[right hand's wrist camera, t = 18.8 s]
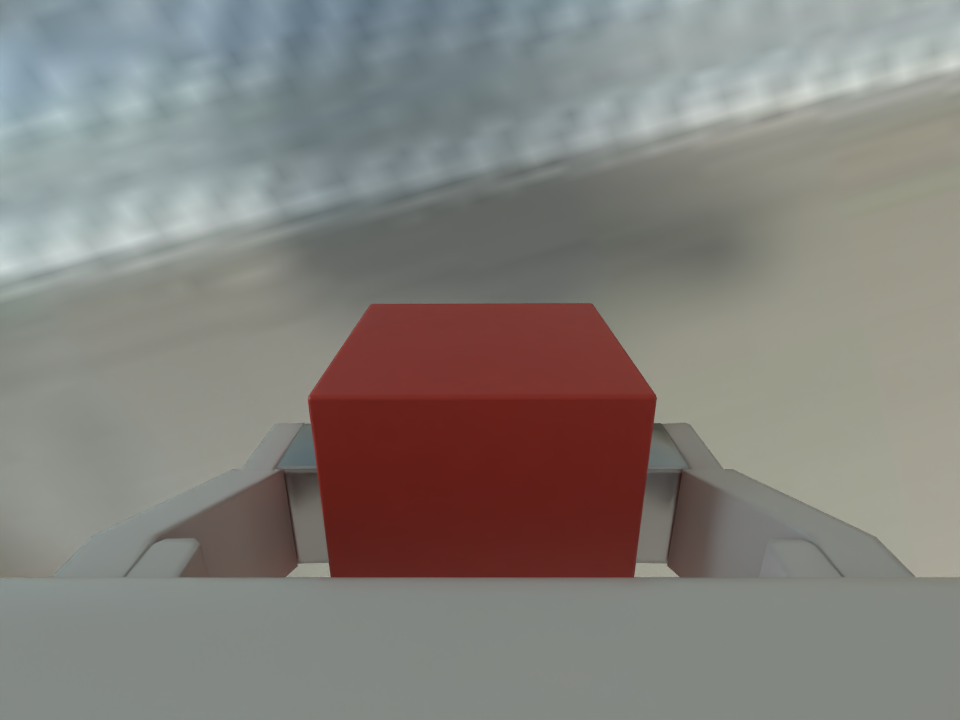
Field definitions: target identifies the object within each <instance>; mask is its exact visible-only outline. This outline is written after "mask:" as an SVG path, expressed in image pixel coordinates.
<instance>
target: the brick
mask: <svg viewBox="0 0 960 720" xmlns="http://www.w3.org/2000/svg"><path fill="white" fill-rule="evenodd" d="M656 400H657V398H656V395H655V393H654V392H653V390H652V389H651V387H650V386H649V385H648V383H647V382H646V380H645V379H644V377H643V376H642V374H641V373H640V372H639V370H638V369H637V367H636V366H635V364H634V363H633V362H632V360H631V359H630V357H629V356H628V354H627V353H626V351H625V350H624V349H623V347H622V346H621V344H620V343H619V341H618V340H617V338H616V337H615V336H614V334H613V333H612V331H611V330H610V328H609V327H608V326H607V324H606V323H605V321H604V320H603V318H602V317H601V315H600V314H599V313H598V311H597V310H596V308H595V307H594V305H593V304H591V303H582V304H371V305H370V306H369V307H368V309H367V310H366V312H365V313H364V314H363V316H362V317H361V319H360V320H359V322H358V323H357V325H356V326H355V328H354V329H353V331H352V332H351V334H350V335H349V337H348V338H347V340H346V341H345V343H344V344H343V346H342V347H341V349H340V350H339V352H338V353H337V355H336V356H335V358H334V359H333V361H332V362H331V364H330V365H329V367H328V368H327V369H326V371H325V372H324V374H323V375H322V377H321V378H320V380H319V381H318V383H317V384H316V386H315V387H314V389H313V390H312V392H311V393H310V395H309V397H308V405H309V412H310V420H311V428H312V435H313V443H314V451H315V459H316V466H317V474H318V482H319V489H320V497H321V505H322V513H323V520H324V528H325V536H326V543H327V551H328V559H329V567H330V574H331V577H634V573H635V565H636V557H637V549H638V541H639V534H640V526H641V518H642V510H643V502H644V494H645V486H646V478H647V471H648V463H649V455H650V447H651V439H652V431H653V423H654V415H655V408H656Z"/></svg>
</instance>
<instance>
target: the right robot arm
mask: <svg viewBox="0 0 960 720" xmlns="http://www.w3.org/2000/svg"><path fill="white" fill-rule="evenodd" d="M298 563H329V559H328V551H327V543H326V536H325V528H324V520H323V513H322V505H321V497H320V489H319V482H318V474H317V466H316V459H315V451H314V443H313V435H312V428H311V424H305V423H281V424H275V425H274V426H273V427H272V428H271V430H270V431H269V433H268V434H267V435H266V437H265V438H264V439H263V441H262V442H261V443H260V445H259V446H258V448H257V449H256V450H255V452H254V453H253V454H252V456H251V457H250V458H249V460H248V461H247V463H246V464H245V465H244V467H243V468H242V469H232V470H230V471H228V472H226V473H224V474H222V475H220V476H218V477H216V478H214V479H211V480H209V481H207V482H205V483H203V484H201V485H199V486H197V487H195V488H192V489H190V490H188V491H186V492H184V493H182V494H180V495H178V496H176V497H174V498H171V499H169V500H167V501H165V502H163V503H161V504H159V505H157V506H155V507H153V508H150V509H148V510H146V511H144V512H142V513H140V514H138V515H136V516H134V517H131V518H129V519H127V520H125V521H123V522H121V523H119V524H117V525H115V526H113V527H110V528H108V529H106V530H104V531H102V532H100V533H98V534H96V535H94V536H92V537H91V538H90V539H89V540H88V541H87V542H86V543H85V544H84V545H83V546H82V547H81V548H80V549H79V550H78V551H77V552H76V553H75V554H74V555H73V556H72V557H71V558H70V559H69V560H68V561H67V562H66V563H65V564H64V565H63V566H62V567H61V568H60V569H59V570H58V571H57V572H56V573H55V574H54V575H53V576H52V577H0V720H960V577H915V576H914V575H913V574H912V573H911V572H910V571H909V570H908V569H907V568H906V567H905V566H904V565H903V564H902V563H901V562H900V561H899V560H898V559H897V558H896V557H895V556H894V555H893V554H892V553H891V552H890V551H889V550H888V549H887V548H886V547H885V546H884V545H883V544H882V543H881V542H880V541H879V540H878V539H877V538H876V537H875V536H873V535H871V534H868V533H866V532H864V531H862V530H860V529H858V528H856V527H854V526H852V525H849V524H847V523H845V522H843V521H841V520H839V519H837V518H835V517H832V516H830V515H828V514H826V513H824V512H822V511H820V510H818V509H816V508H813V507H811V506H809V505H807V504H805V503H803V502H801V501H799V500H796V499H794V498H792V497H790V496H788V495H786V494H784V493H782V492H780V491H777V490H775V489H773V488H771V487H769V486H767V485H765V484H763V483H761V482H758V481H756V480H754V479H752V478H750V477H748V476H746V475H744V474H741V473H739V472H737V471H735V470H733V469H723V468H722V466H721V465H720V464H719V462H718V461H717V460H716V458H715V457H714V456H713V454H712V453H711V452H710V450H709V449H708V448H707V446H706V445H705V444H704V442H703V441H702V440H701V438H700V437H699V436H698V434H697V433H696V432H695V430H694V429H693V428H692V427H691V425H690V424H687V423H668V424H661V423H653V431H652V439H651V447H650V455H649V463H648V471H647V478H646V486H645V494H644V502H643V510H642V518H641V526H640V534H639V541H638V549H637V557H636V563H667V566H668V567H669V568H670V569H672V570H673V571H674V572H675V573H676V574H677V575H678V576H679V577H286V576H287V575H288V574H289V573H290V572H292V571H293V570H294V569H295V568H296V567H297V566H298V565H297V564H298Z"/></svg>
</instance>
